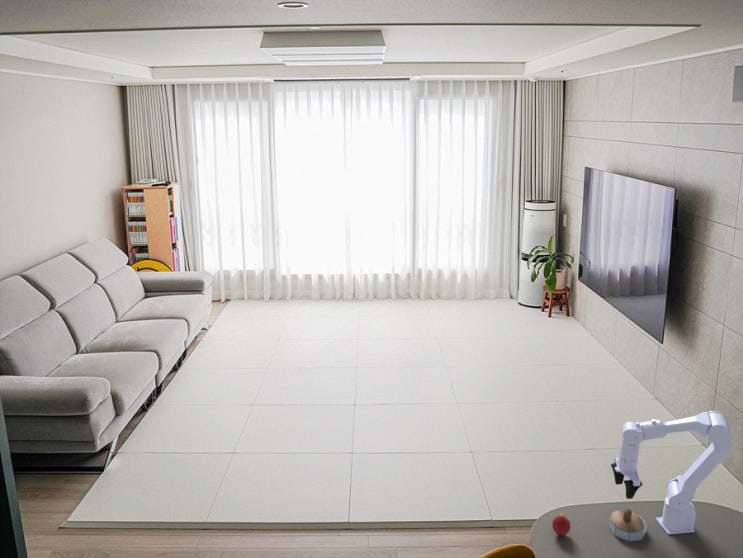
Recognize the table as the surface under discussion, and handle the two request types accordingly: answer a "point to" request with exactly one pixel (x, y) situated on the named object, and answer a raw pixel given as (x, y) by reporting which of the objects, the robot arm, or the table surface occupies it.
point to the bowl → (628, 535)
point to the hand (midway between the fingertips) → (624, 490)
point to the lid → (626, 520)
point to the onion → (561, 525)
